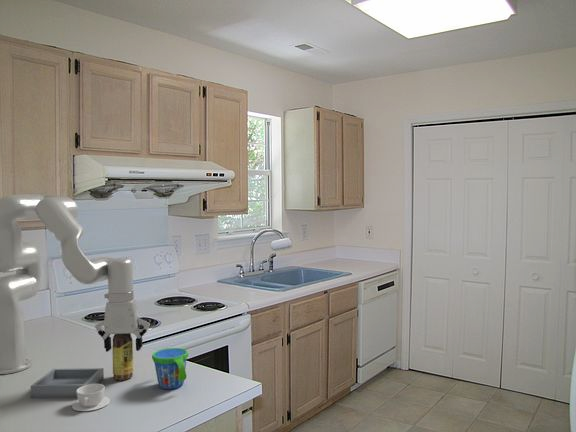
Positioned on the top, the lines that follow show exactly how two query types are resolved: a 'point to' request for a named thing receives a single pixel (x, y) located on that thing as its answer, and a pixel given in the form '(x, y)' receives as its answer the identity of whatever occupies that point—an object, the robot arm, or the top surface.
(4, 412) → the top surface
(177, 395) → the top surface
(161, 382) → the snack cup
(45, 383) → the tray
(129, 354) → the sauce bottle
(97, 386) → the teacup
